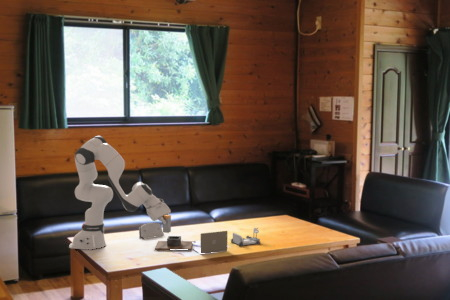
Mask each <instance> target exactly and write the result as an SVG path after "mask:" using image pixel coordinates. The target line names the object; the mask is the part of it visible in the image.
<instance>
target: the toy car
mask: <svg viewBox="0 0 450 300" xmlns="http://www.w3.org/2000/svg"><path fill="white" fill-rule="evenodd" d="M253 234H255V236H250V235H246V237H245V238H243V236H242V235H240V234H238V233H237V232H236V233H235V232H232V239H230V242H231V243H232V244H233V243H234V244H236V245H238V248H241V246H242V247H243V246H247V245H257V246H258V245H260V244H261V241H260V240H261V239H260V238H258V237H257V235H258V234H259V227H257V228H256V227H253Z"/></svg>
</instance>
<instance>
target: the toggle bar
mask: <svg viewBox="0 0 450 300" xmlns="http://www.w3.org/2000/svg"><path fill="white" fill-rule="evenodd" d="M163 219H164V220H166V221H167V223H166V224H164V223H163V222H162V232H163V233H164V234H165V233H166V234H169V233H171V232H172V223H171V222H172V215H171V214H169V215H164V216H163Z"/></svg>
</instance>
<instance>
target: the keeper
mask: <svg viewBox="0 0 450 300" xmlns="http://www.w3.org/2000/svg"><path fill="white" fill-rule="evenodd" d="M192 242H194V241H191V240H190V241H189V240H188V241H186V240H185V241H183V240H182V236H181V235H169V236H167V239H166V240H158V241H157V243H156V244H155V247H154V251H155V250H170V249H188V250H191V251H192V248H191V246H192V247H193V244H192Z"/></svg>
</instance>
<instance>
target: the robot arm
mask: <svg viewBox="0 0 450 300" xmlns="http://www.w3.org/2000/svg"><path fill="white" fill-rule="evenodd" d="M96 160H98V161H100V162H101V164H102V165H103V166H104V167H105V168H106V170H107V173H108V175H107V179H108V181H109V183H110V185H111V187H110V186H108V185H106V184H105V185H103V184H95V183H94V181H95V180H96V179H97V178H98V176H99V175H98V171H97V167H96V163H95V161H96ZM74 163H75V168H76V170H77V174H78V178H79V183H78V185H77V186H76V187H75V189H74V195H75V198H76V199H77V200H79V201H83V202H89V203H91V207H90V208H88V209H86V211H85V212H84V223H82V225H81V229H82V230H79V232H78V233H76V234H75V235H74V236H73V239H72V242H70V244H69V246H68V248H69V249H77V250H88V249H89V250H92V249H93V250H97V249H102V248H105V247H106V246H107V243H106V240H105V223H104V213H105V212H104V211H105V209H106V207H107V205H108V203H110V202H111V201H112V200H113V197H114V192H115V194H116V195H117V196H118V198H119V200H120V202H121V203H122V206H123V208H124V209H125V210H126V211H127V212H130V213H131V212H136V211H137V210H138V209H139V207H140V206H142V205H143V206H144V207H145V211H146V214H147V215H148V217H149V218H150V219H151V220H152V221H153V222H156V221H158V220H159V221H160V222H161V223H162V224H163V223H164V224H166V223H167V221H166V220H164V219H163V216H164V215H171V213H172V211H171V208H170V207H169V206H168V205H167V203H165V201H164V199H162V198H158V197H157V196H156V195H154V194H153V189H152V188H151V187H150V186H149V185H148V184H146V183H143V181H138V182H136V183H134V184H133V186H132V188H131V191H130V192H129V193H128V194H126V193H125V192H124V190H123V189H122V187H121V184H120V181H119V180H120V178H121V176H122V174H123V172H124V170H125V167H126V161H125V160H124V158H123V157H122V155H121V154H120V153H119V152H118V151H117V150H116V149H115V148H114V147H113V146H111V145H110V144H109V143H108V142H107V139H105V138H104V137H103V136H101V135H96V136H93V137H91V139H89V140H87V141H86V142H85V143H84V144H82V145H81V147H79V148H78V149H77V150H76V151H75V153H74ZM104 246H105V247H104ZM101 247H102V248H101ZM96 248H97V249H96ZM89 250H88V251H89Z"/></svg>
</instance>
